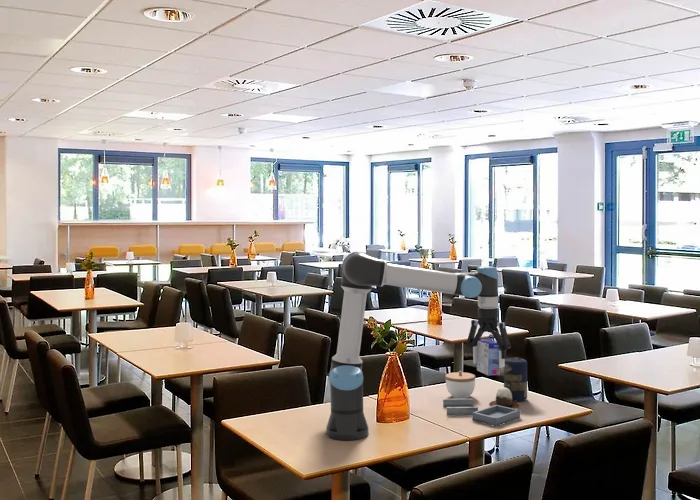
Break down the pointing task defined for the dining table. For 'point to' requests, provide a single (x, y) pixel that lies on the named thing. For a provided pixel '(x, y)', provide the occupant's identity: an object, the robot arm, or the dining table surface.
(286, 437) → the dining table surface
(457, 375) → the lidded bowl
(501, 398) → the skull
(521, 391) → the canister
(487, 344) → the ink cartridge box
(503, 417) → the tray
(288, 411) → the dining table surface
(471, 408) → the dock rails
